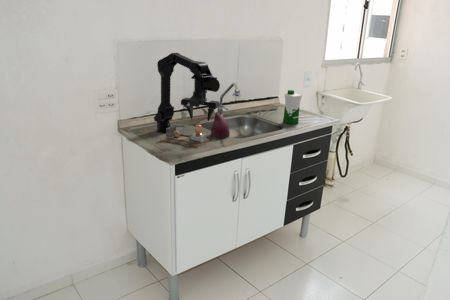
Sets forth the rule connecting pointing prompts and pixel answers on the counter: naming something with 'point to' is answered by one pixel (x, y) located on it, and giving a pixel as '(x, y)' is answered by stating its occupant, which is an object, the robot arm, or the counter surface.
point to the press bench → (180, 138)
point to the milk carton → (291, 107)
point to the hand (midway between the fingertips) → (199, 119)
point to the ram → (197, 135)
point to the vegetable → (220, 127)
